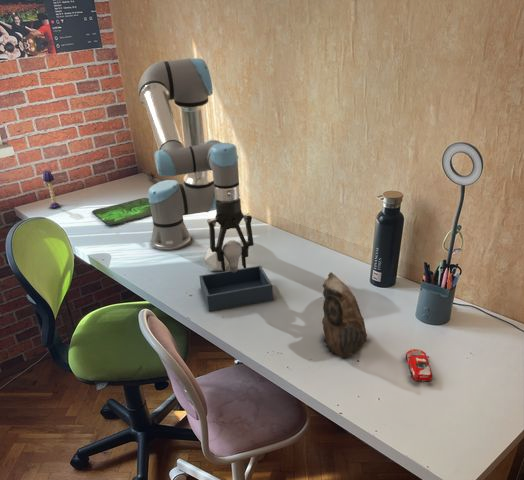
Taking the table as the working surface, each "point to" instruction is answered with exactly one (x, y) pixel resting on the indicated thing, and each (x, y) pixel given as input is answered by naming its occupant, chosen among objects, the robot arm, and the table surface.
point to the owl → (342, 319)
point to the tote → (236, 288)
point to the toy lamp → (50, 188)
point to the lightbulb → (232, 254)
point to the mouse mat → (124, 212)
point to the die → (214, 261)
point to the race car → (419, 366)
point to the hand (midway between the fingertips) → (233, 267)
